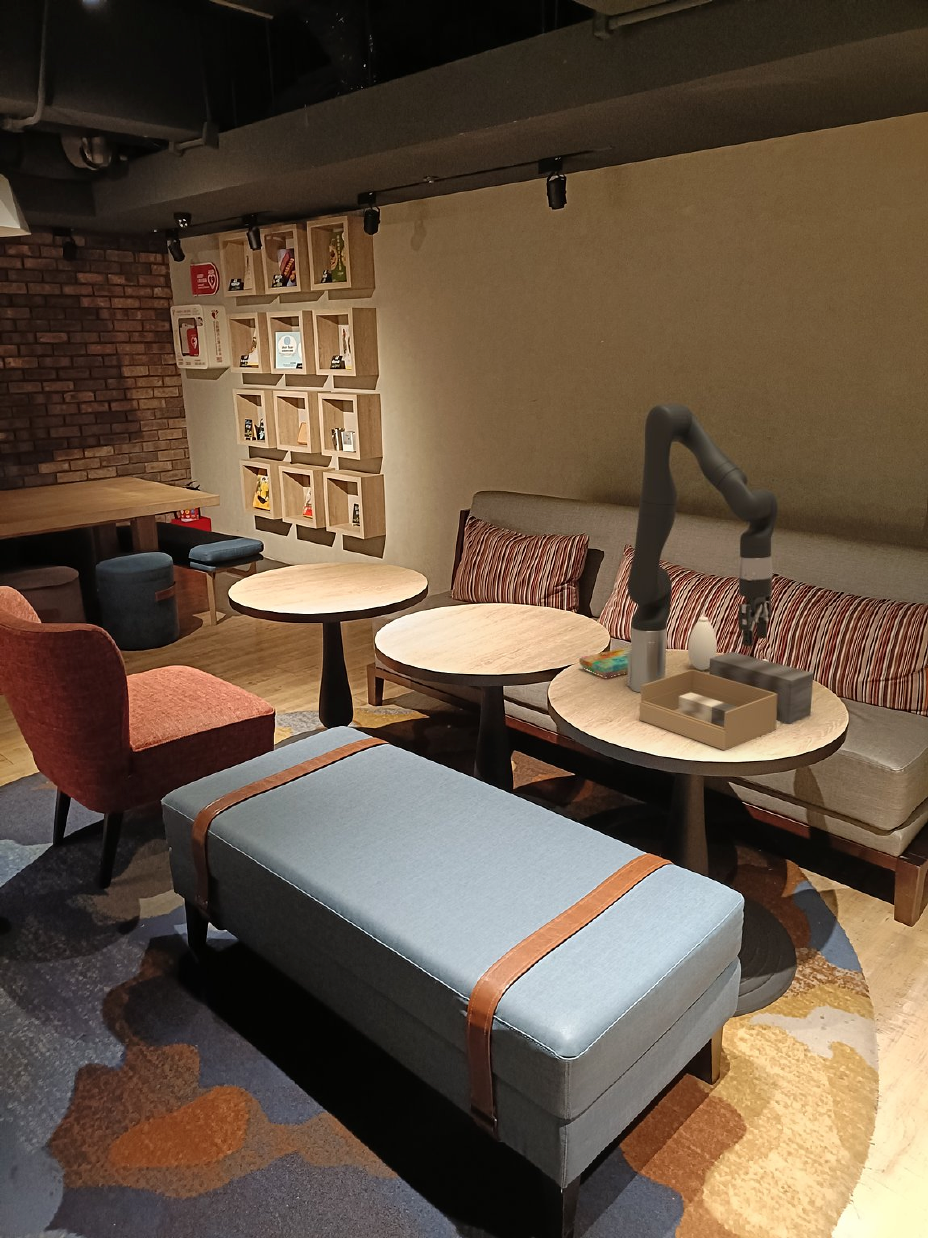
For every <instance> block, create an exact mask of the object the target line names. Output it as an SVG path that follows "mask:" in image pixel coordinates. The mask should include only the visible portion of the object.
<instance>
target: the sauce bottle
mask: <svg viewBox="0 0 928 1238" xmlns="http://www.w3.org/2000/svg"><path fill="white" fill-rule="evenodd" d="M705 611H706V610H705V609H703V611H702V616H700V617H698V621H697V622H696V623H695V625H694V626H693V628H692V630H691V632H690V633H691V634H690V635H689V639H688V644H687V645H688V647H687V653H688V658H689V661H690V663H691V665H692V666H694V667H695V670H697V671H705V670H707V669H709V668H710V658H714V657H717V656H716V655H717V652H718V646H717V645H718V643H717V637H716V633H715V631H714V627H713V625H712V624H711V622H710V621H709V617H707V616H706V615H705V613H706V612H705Z"/></svg>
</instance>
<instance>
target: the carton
mask: <svg viewBox="0 0 928 1238" xmlns="http://www.w3.org/2000/svg"><path fill="white" fill-rule="evenodd" d="M690 692H691V693H695V694H698V695H701V696H704V697H707V698H711V699H714V700H717V701H720V702H723V703H727V704H730V705H733V706H736V707H738V708H735V709H732V710H730V711H727V712H725V717H724V728H723V727H720V726H717V725H714V724H711V723H708V722H705V721H702V720H699V719H696V718H693V717H690V716H687V715H684V714H682V713H679V712H678V711H675V710H678V706H679V696H681V695H684V694H687V693H690ZM777 702H778V694H777V693H773V692H770V691H766V690H763V689H759V688H756V687H752V686H749V685H745V684H742V683H738V682H735V681H731V680H728V679H724V678H721V677H718V676H714V675H711V674H709V673H707V672H703V671H701V670H698V669H689V670H685V671H684V672H680V673H677V674H673V675H670V676H667V677H665V678H663V679H660V680H657V681H654V682H651V683H648V684H644V685H641V693H640V702H639V721H642V722H645V723H648V724H650V725H653V726H656V727H659V728H661V729H664V730H667V731H670V732H673V733H676V734H679V735H681V736H684V737H686V738H689V739H691V740H694V741H698V742H700V743H703V744H706V745H709V746H711V747H714V748H717V749H719V750H723V751H726V750H729V749H732V748H734V747H736V746H740V745H741V744H744V743H746V742H747V743H748V742H749V741H752V740H755V739H756V738H759V737H762V736H764V735H766V734H769V733H771V732H773V731H776V729H777V720H776V717H777Z"/></svg>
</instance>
